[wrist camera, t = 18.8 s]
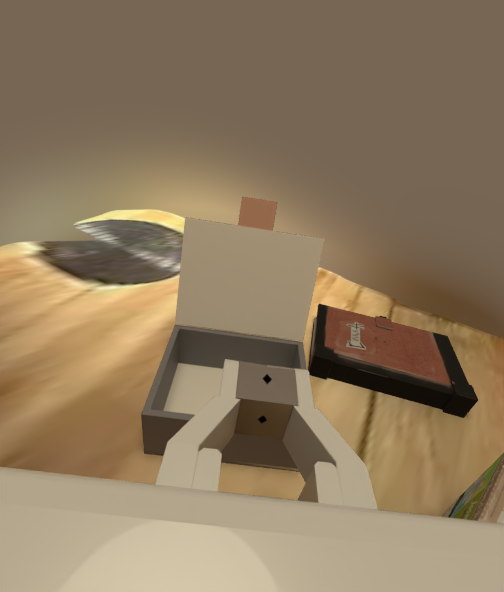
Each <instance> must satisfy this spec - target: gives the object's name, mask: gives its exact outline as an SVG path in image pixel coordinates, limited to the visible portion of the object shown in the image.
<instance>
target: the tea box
mask: <svg viewBox="0 0 504 592" xmlns="http://www.w3.org/2000/svg"><path fill="white" fill-rule="evenodd" d="M443 517H449V518H458V519H467V520H476V521H485V522H494V523H503V524H504V453H503V454H502V455H501V456H500V457H499V458H498V459H497V460H496V461H495V462H494V463H493V464H492V465H491V466H490V467H489V468H488V469H487V470H486V471H485V472H484V473H483V474H482V475H481V476H480V477H479V478H478V479H477V480H476V481H475V482H474V483H473V484H472V485H471V486H470V487H469V488H468V489H467V490H466V491H465V492H464V493H463V494H462V495H461V496H460V497H459V498H458V499H457V500H456V501H455V502H454V503H453V504H452V505H451V506H450V507H449V508H448V510H447V512H446V513H445V515H444V516H443Z"/></svg>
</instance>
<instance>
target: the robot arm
mask: <svg viewBox="0 0 504 592" xmlns="http://www.w3.org/2000/svg"><path fill="white" fill-rule="evenodd" d="M234 434H245V435H256V436H263V437H270V438H276V439H283V440H282V441H283V443H284V445H285V447H286V448H287V450H288V452H289V454H290V455H291V457H292V459H293V461H294V463H295V464H296V466H297V468H298V470H299V471H300V473H301V475H302V477H303V479H304V480H305V482H306V484H305V486H304V488H303V490H302V492H301V494H300V496H299V498H298V500H290V499H281V498H272V497H263V496H254V495H245V494H236V493H227V492H218V484H219V475H220V466H221V457H222V454H221V451H222V450H223V449H224V447H225V446H226V445H227V443H228V442H229V441H230V439H231V438H232V437H233V435H234ZM0 592H504V524H503V523H494V522H485V521H476V520H467V519H458V518H449V517H440V516H432V515H423V514H414V513H405V512H396V511H387V510H378V509H377V505H376V501H375V497H374V493H373V489H372V486H371V482H370V478H369V474H368V470H367V466H366V465H365V464H364V463H363V462H362V460H361V459H360V458H359V457H358V455H357V454H356V453H355V452H354V451H353V449H352V448H351V447H350V446H349V445H348V443H347V442H346V441H345V440H344V439H343V437H342V436H341V435H340V434H339V433H338V431H337V430H336V429H335V428H334V427H333V425H332V424H331V423H330V422H329V421H328V419H327V418H326V417H325V416H324V415H323V413H322V412H321V411H320V410H319V409H315V407H314V400H313V394H312V387H311V380H310V374H309V371H308V370H303V369H295V368H294V369H293V368H287V367H279V366H271V365H262V364H255V363H249V362H243V361H235V360H228V359H225V361H224V367H223V373H222V380H221V387H220V393H219V396H214V397H213V398H212V399H211V400H210V401H209V402H208V403H207V404H206V405H205V406H204V407H203V408H202V409H201V410H200V411H199V412H198V413H197V414H196V415H195V416H194V417H193V418H192V419H191V420H190V421H189V422H188V423H187V424H185V425H184V426H183V427H182V428H181V429H180V430H179V431H178V432H177V433H176V434H175V435H174V436H173V437H172V438H171V439H170V440H169V441H168V442H167V446H166V449H165V453H164V456H163V460H162V463H161V467H160V470H159V474H158V477H157V481H156V484H147V483H138V482H130V481H121V480H112V479H103V478H94V477H85V476H77V475H68V474H59V473H50V472H41V471H33V470H24V469H15V468H6V467H0Z"/></svg>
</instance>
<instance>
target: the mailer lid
mask: <svg viewBox="0 0 504 592" xmlns="http://www.w3.org/2000/svg"><path fill="white" fill-rule="evenodd" d="M276 208H277V202H273V201H267V200H261V199H254V198H248V197H242V201H241V209H240V215H239V223H238V225H232V224H226V223H219V222H213V221H206V220H200V219H193V218H187V217H186V218H185V225H184V236H183V247H182V257H181V268H180V278H179V289H178V299H177V310H176V320H175V324H181V325H189V326H196V327H203V328H211V329H218V330H225V331H232V332H240V333H247V334H254V335H261V336H269V337H276V338H283V339H290V340H298V341H303V339H304V334H305V329H306V324H307V320H308V315H309V310H310V305H311V300H312V296H313V291H314V286H315V281H316V276H317V271H318V267H319V262H320V257H321V252H322V247H323V242H324V239H323V238H317V237H310V236H303V235H297V234H290V233H284V232H278V231H273V227H274V220H275V214H276Z"/></svg>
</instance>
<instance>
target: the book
mask: <svg viewBox="0 0 504 592" xmlns="http://www.w3.org/2000/svg"><path fill="white" fill-rule="evenodd" d="M308 371H309V374H310V375H311V376H315V377H319V378H322V379H326V378H331V379H334V380H338V381H342V382H345V383H349V384H352V385H356V386H360V387H363V388H367V389H370V390H374V391H378V392H381V393H385V394H388V395H392V396H396V397H399V398H403V399H407V400H410V401H414V402H417V403H421V404H425V405H428V406H432V407H435V408H439V409H442V410H443V412H445V413H448V414H452V415H455V416H459V417H463V418H464V417H465V415H466V414H467V413H468V412H469V411H470V409H471V408H472V407H473V406H474V405H475V403H476V402H477V401H478V398H477V396H476V394H475V392H474V389H473V387H472V385H469V384H468V381H467V379H466V377H465V375H464V372H463V370H462V368H461V366H460V363H459V361H458V359H457V357H456V354H455V352H454V350H453V347H452V345H451V343H450V341H449V338H448V336H445V335H441V334H437V333H433V332H429V331H425V330H421V329H417V328H413V327H409V326H405V325H401V324H397V323H393V322H391V320H390V319H387V318H386V317H383V316H380V317H378V316H376V317H375V318H374V317H370V316H366V315H362V314H358V313H354V312H350V311H346V310H342V309H338V308H334V307H330V306H326V305H322V304H319V305H318V312H317V318H314V323H313V332H312V340H311V349H310V357H309V366H308Z"/></svg>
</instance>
